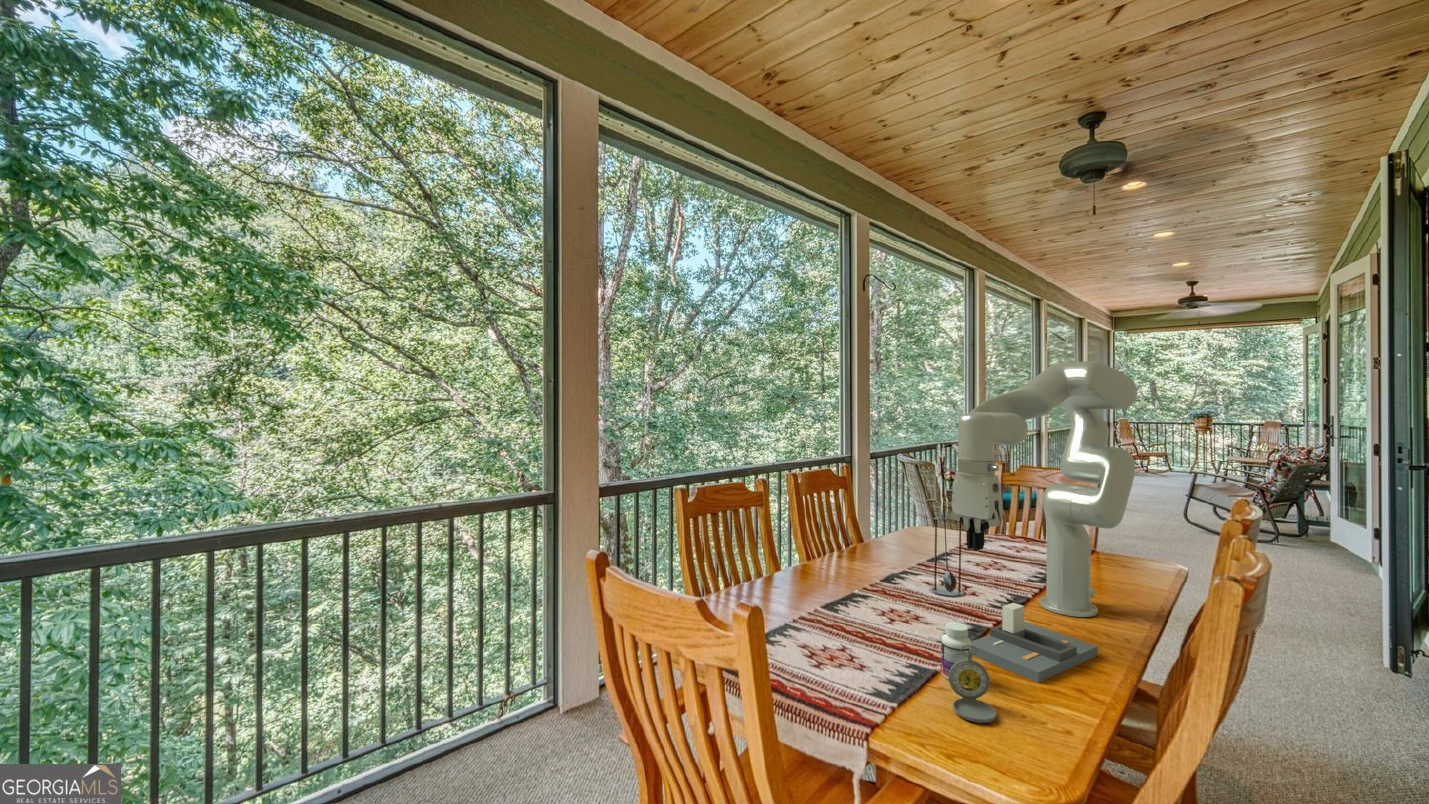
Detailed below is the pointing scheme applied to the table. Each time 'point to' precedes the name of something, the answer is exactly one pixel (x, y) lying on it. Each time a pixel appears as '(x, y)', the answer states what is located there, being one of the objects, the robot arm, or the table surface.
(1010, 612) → the fader
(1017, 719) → the table surface
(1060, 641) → the console
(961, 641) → the pill bottle
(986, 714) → the pocket watch
